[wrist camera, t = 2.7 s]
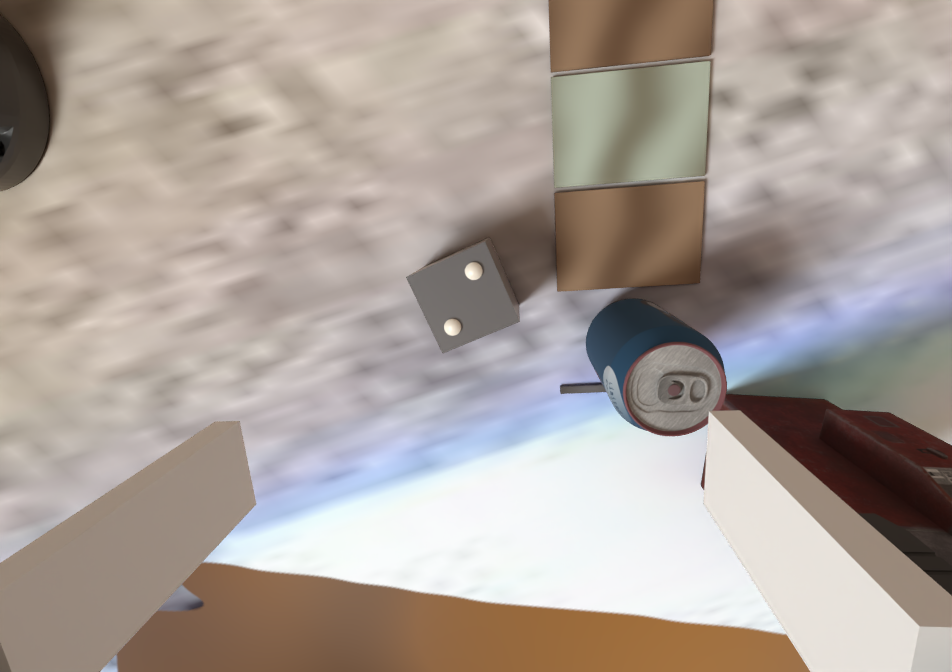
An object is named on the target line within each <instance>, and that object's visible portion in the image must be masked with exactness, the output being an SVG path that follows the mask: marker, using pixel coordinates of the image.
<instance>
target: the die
mask: <svg viewBox="0 0 952 672" xmlns="http://www.w3.org/2000/svg"><path fill="white" fill-rule="evenodd" d="M406 278H407V280H408V282H409V284H410V286H411V288H412V291H413V293H414V295H415V297H416V299H417V301H418V303H419V305H420V307H421V309H422V311H423V313H424V316H425V318H426V320H427V322H428V324H429V326H430V328H431V330H432V332H433V334H434V336H435V338H436V341H437V343H438V345H439V347H440V349H441V351H442V353H445V352H448V351H450V350H452V349H455V348H457V347H460V346H462V345H464V344H467V343H469V342H472V341H474V340H476V339H479V338H481V337H484V336H486V335H489V334H491V333H493V332H496V331H498V330H501V329H503V328H505V327H508V326H510V325H513V324H515V323H518V322H520V317H519V304H518V302H517V300H516V297H515V295H514V293H513V290H512V288H511V286H510V283H509V281H508V279H507V276H506V274H505V272H504V269H503V267H502V265H501V263H500V260H499V258H498V256H497V253H496V251H495V249H494V246H493V244H492V242H491V239H490V237H489V238H487V239H485V240H482V241H480V242H478V243H476V244H474V245H471V246H469V247H467V248H465V249H463V250H460V251H458V252H456V253H454V254H452V255H449V256H447V257H445V258H443V259H441V260H438V261H436V262H434V263H432V264H430V265H427V266H425V267H423V268H421V269H419V270H418V271H416V272H414V273H413V274H411V275H409V276H407V277H406Z"/></svg>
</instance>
